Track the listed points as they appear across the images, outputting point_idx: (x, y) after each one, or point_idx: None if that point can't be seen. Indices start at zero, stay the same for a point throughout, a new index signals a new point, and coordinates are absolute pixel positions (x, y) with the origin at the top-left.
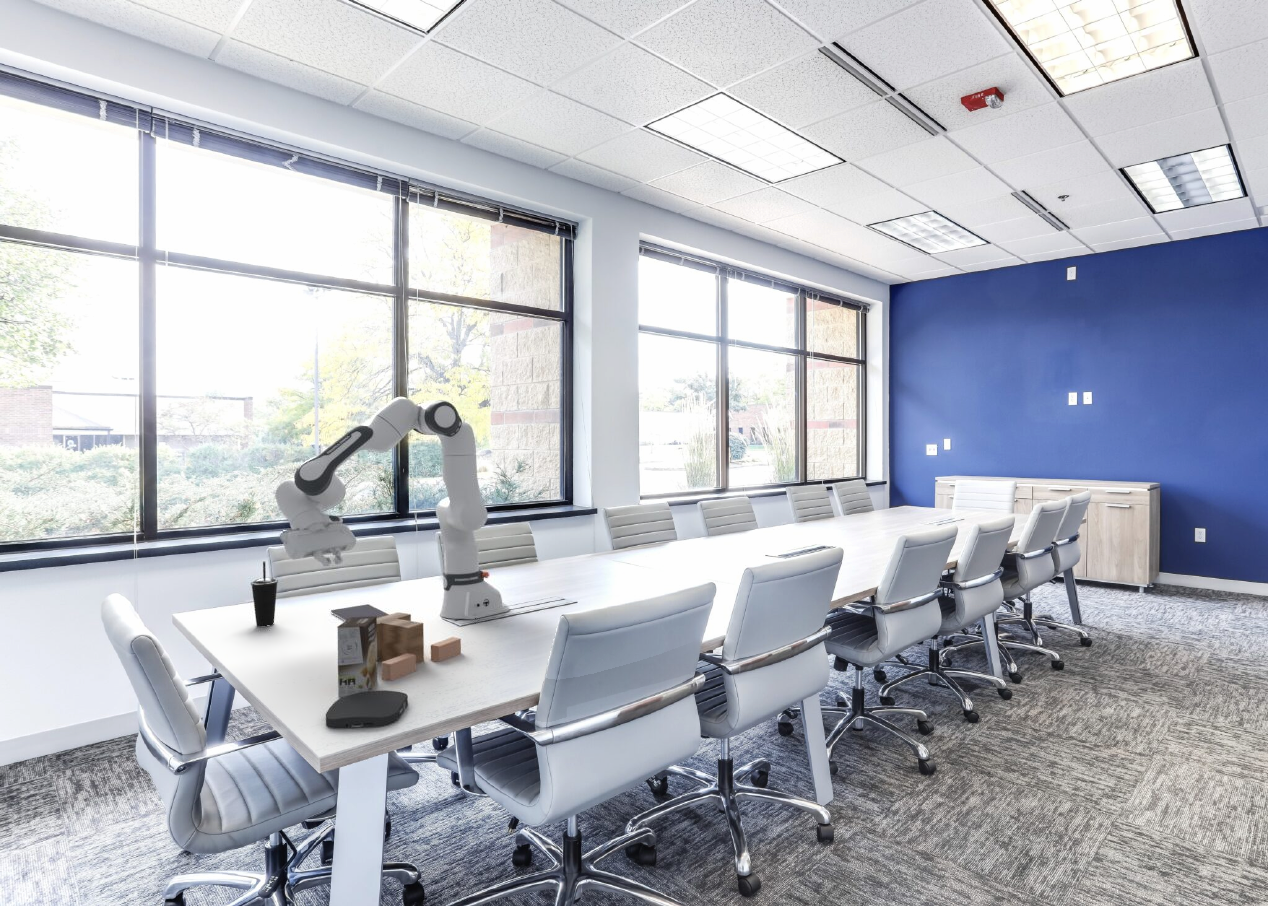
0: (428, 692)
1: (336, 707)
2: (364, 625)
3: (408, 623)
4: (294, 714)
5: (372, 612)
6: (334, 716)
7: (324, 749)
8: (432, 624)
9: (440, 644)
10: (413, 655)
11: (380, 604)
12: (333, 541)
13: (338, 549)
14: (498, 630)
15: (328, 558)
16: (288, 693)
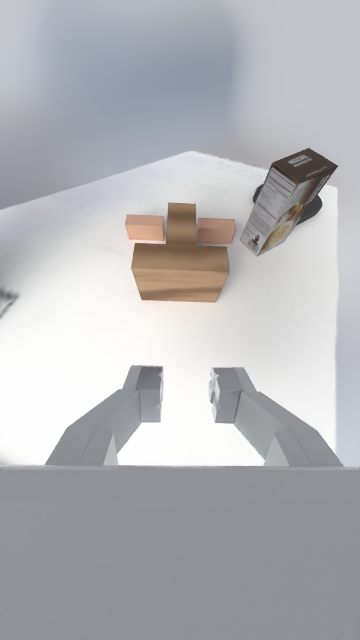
0: (229, 196)
1: (311, 207)
2: (308, 149)
3: (179, 215)
4: (326, 244)
5: None
6: (318, 200)
7: (332, 191)
8: (11, 343)
9: (156, 219)
10: (201, 218)
11: None
12: (32, 595)
13: (83, 439)
14: (29, 244)
15: (225, 385)
16: (311, 286)
